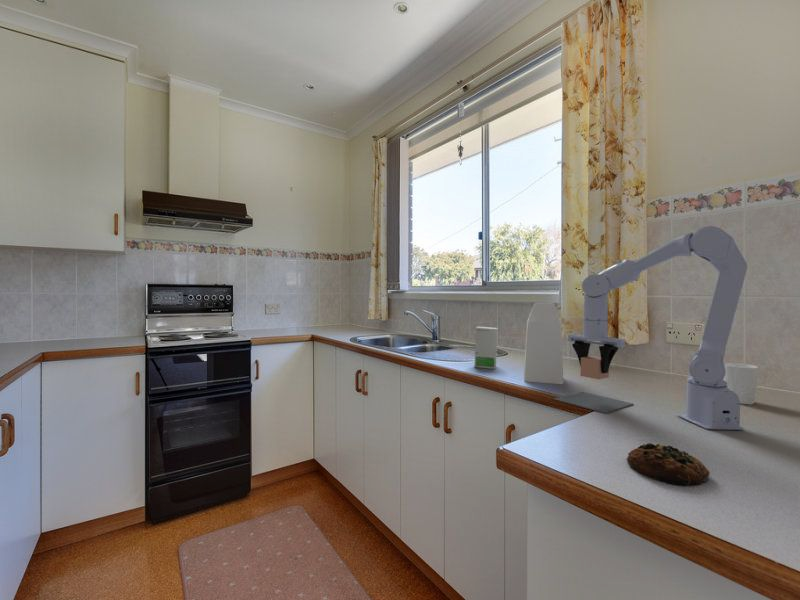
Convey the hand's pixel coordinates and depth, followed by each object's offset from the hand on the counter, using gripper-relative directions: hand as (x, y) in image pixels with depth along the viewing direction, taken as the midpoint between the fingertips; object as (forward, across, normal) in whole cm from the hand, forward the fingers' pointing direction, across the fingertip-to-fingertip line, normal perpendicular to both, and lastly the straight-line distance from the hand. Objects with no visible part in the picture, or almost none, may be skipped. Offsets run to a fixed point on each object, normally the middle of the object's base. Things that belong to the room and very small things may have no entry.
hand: (594, 370), depth 102 cm
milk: (+9, +25, -13) cm, 29 cm away
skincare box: (+9, +50, -12) cm, 52 cm away
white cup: (+9, -21, -36) cm, 42 cm away
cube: (+2, 0, 0) cm, 2 cm away
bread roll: (+9, -28, +29) cm, 41 cm away
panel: (+8, 0, 0) cm, 8 cm away
